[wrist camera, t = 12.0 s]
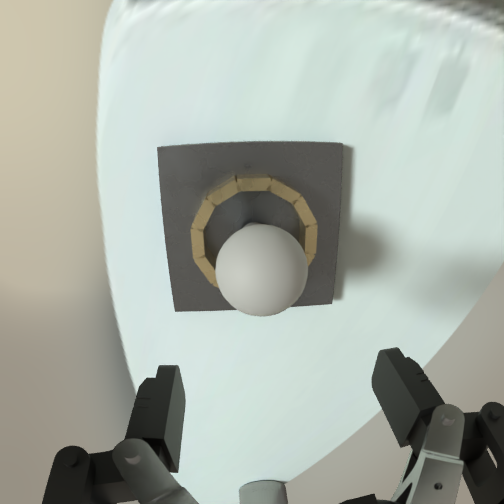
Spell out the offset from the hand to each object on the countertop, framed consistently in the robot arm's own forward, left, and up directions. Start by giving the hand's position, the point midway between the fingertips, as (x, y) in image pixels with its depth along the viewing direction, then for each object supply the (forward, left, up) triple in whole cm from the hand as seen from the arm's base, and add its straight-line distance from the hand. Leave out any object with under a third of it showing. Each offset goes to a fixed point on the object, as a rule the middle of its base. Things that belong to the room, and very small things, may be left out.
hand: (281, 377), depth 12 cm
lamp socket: (0, 0, -20) cm, 20 cm away
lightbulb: (0, 0, -18) cm, 18 cm away
